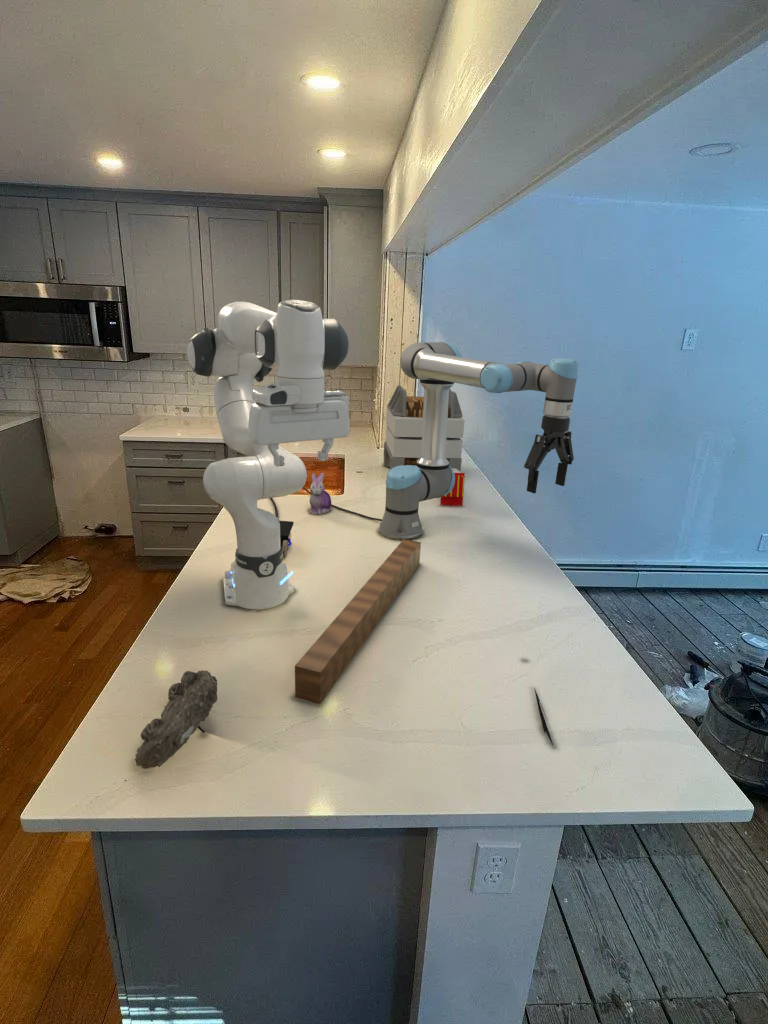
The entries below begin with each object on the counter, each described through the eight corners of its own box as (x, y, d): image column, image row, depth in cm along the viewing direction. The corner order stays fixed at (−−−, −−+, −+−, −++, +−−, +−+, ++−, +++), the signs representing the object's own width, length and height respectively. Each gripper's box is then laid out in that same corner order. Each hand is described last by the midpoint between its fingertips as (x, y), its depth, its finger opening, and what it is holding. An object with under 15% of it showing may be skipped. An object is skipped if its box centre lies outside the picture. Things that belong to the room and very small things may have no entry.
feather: (525, 664, 131) (530, 658, 130) (552, 749, 104) (559, 742, 103) (519, 660, 130) (524, 654, 130) (545, 745, 104) (552, 738, 103)
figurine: (313, 516, 212) (313, 478, 207) (304, 507, 221) (303, 470, 215) (336, 513, 216) (337, 475, 211) (326, 505, 225) (327, 468, 220)
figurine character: (288, 562, 177) (294, 539, 190) (288, 541, 173) (294, 518, 187) (267, 561, 177) (274, 538, 190) (266, 540, 173) (273, 518, 187)
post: (402, 561, 178) (403, 539, 176) (419, 564, 177) (420, 542, 174) (295, 697, 114) (294, 665, 112) (320, 704, 113) (320, 672, 110)
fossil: (167, 671, 114) (219, 638, 109) (200, 702, 116) (252, 671, 112) (109, 762, 94) (169, 727, 89) (151, 796, 97) (212, 765, 92)
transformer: (382, 463, 289) (386, 382, 275) (445, 464, 293) (451, 384, 279) (390, 482, 257) (394, 392, 243) (460, 483, 261) (468, 394, 247)
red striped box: (457, 464, 255) (469, 474, 226) (455, 493, 258) (466, 506, 229) (430, 463, 255) (438, 473, 226) (429, 493, 258) (436, 506, 228)
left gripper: (341, 387, 115) (340, 454, 119) (243, 391, 104) (246, 464, 109) (356, 391, 110) (355, 461, 115) (256, 396, 99) (258, 472, 104)
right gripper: (540, 422, 148) (529, 498, 156) (593, 414, 163) (581, 485, 170) (517, 417, 154) (507, 491, 161) (571, 410, 169) (560, 478, 176)
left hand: (301, 463), depth 112 cm, fingers open, 8 cm apart
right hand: (545, 488), depth 166 cm, fingers open, 13 cm apart
